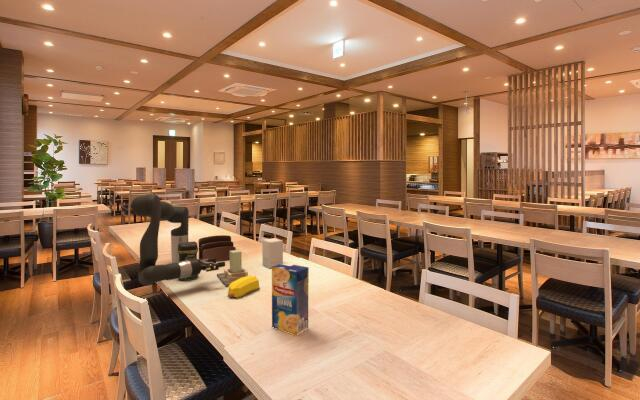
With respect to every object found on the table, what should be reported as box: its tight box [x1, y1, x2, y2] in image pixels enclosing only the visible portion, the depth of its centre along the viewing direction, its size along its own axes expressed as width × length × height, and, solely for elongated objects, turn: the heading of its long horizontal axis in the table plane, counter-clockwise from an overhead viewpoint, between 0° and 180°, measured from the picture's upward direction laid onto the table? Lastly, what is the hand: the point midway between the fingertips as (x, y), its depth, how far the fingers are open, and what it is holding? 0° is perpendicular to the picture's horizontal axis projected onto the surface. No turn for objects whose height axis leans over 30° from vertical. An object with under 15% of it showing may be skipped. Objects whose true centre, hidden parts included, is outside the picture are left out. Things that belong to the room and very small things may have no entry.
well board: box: [216, 266, 249, 287], centre depth 178 cm, size 18×13×4 cm
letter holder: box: [198, 234, 237, 263], centre depth 214 cm, size 10×20×14 cm, turn 122°
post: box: [229, 249, 243, 274], centre depth 178 cm, size 4×4×13 cm
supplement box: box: [261, 237, 284, 269], centre depth 202 cm, size 9×9×15 cm
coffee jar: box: [178, 241, 199, 281], centre depth 178 cm, size 10×8×19 cm
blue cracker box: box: [271, 262, 310, 336], centre depth 125 cm, size 7×11×22 cm, turn 57°
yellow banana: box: [227, 274, 260, 299], centre depth 160 cm, size 18×7×8 cm
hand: (220, 262), depth 172 cm, fingers open, 8 cm apart
